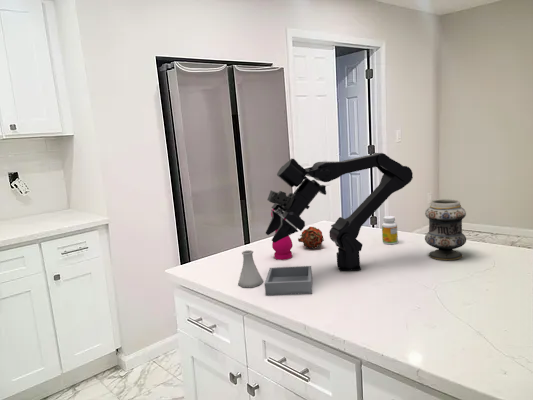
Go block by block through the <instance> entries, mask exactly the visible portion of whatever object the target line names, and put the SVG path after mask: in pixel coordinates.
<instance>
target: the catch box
mask: <svg viewBox="0 0 533 400" xmlns="http://www.w3.org/2000/svg"><path fill="white" fill-rule="evenodd" d="M312 270H313V269H312V265H302V266H301V265H300V266H298V265H297V266H282V267H281V266H279V267H269V269H268V272H267V275H266V278H265V281H264V289H265V296H283V295H284V296H286V295H290V296H291V295H312V294H313V271H312Z"/></svg>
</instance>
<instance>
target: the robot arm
mask: <svg viewBox="0 0 533 400" xmlns="http://www.w3.org/2000/svg"><path fill="white" fill-rule="evenodd" d="M374 168H376V169H378V172H380V173H382V176H381V179H380V182H379V185H377V187H376V188H375V189H374V190H373V191H372V192H371V193H370V194H369V195H368V196H367V197H366V198H365V199H364V200H363V202H362V203H360V205H359V206H358V207H357V208H356V209H355V210H354V211H353V212H352V213H351V214H350V215H349V216H348V217H345V218H343V217H341V216H339V217H338V218H337V220H336V221H335V223H333V224H331V226H330V227H331V228H330V229H329V232H328V233H329V238H330V241H332V242H333V243H334V244H335V246H336V247H337V252H336V265H337V268H338V270H339V271H340V272H345V271H346V272H347V271H349V272H350V271H361V270H362V267H361V263H360V262H361V261H360V260H361V259H360V252H361V251H362V249H363V243H362V242H360V241H359V240H357V238H358V237H359V234H360V230H361V228H362V226H363V225H364V224H365V223H366V222H367V221H368V220H369V219H370V218H371V217H372V215H374V213H375V212H376V211H377V210H378V209H379V208H380V207H381V206H382V205H383V204H384V202H386V201H387V200H388V199H389V198H390V196H392V194H394V193H396V192H398V191H399V190H402V189H403V188H405V187H406V186H407V185H408V184H410V183H411V181H412V180H413V177H414V175H413V170H412V168H410V167H409V166H407V165H402V164H401V163H400V162H398V161H396V160H395V159H392V158H391V157H390V156H388V155H387V154H385V153H383V152H374V153H373V154H369V155H363V156H359V157H355V158H350V159H345V160H341V161H317V162H315V163H313V165H312V166H310V167H307V168H304V167H303V166H302V165H300V164H299V162H298V161H297V160H296V159H295V158H290V159H289V160H288V161H287V162H286V163H284V164H283V165H282V166H281V167H280V168H279V170H278V171H277V173H276V175H277V177H278V178H280V179H281V181H283V182H284V183H286V184H287V185H288V186H289V187H290V188H294V187H296V189H295V191H294V192H293V193H292V192H290V193H289V194H288V195H287V192H286V191H281V190H279V191H274V190H270V191H269V194H268V197H267V201H268V202H270V203H272V204H273V205H272V206H271V211H272V217H271V219H270V222H269V224H268V226H267V229H266V231H265V235H267V236H269V235H271V234H273V233H274V232H275V231H276V230H277V229H278V230H277V232H276V233H274V235H273V237H272V238H271V241H272V243H273V242H274V243H275V242H277V241H279V240H281V239H283V238H285V237H287V236H289V237H290V236H291V235H293V234H295V233H298V232H299V231H300V232H302V231H303V229H304V228H305V227H306V221H305V220H304V219H302V217H301V215H302V214H303V213H304V212H305V210H309V208H310V204H311V202H312V201H313V200H314V198H315V197H316V196H317V195H318V194H322V195H325V196H326V195H327V190H326V187H327V186H326V185H325V184H321V183H322V182H323V183H328V182H331V181H334V180H336V179H339V178H340V177H342V176H343V175H346V174H350V173H355V172H359V171H364V170H367V169H368V170H369V169H374ZM308 177H309V178H313V179H312V180H311V179H309V178H308ZM319 182H321V183H319ZM273 209H274V211H273ZM284 218H285V219H286V220H284Z"/></svg>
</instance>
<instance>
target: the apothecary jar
mask: <svg viewBox="0 0 533 400" xmlns="http://www.w3.org/2000/svg"><path fill="white" fill-rule="evenodd" d="M424 215H425V217H426V218H427V219H428V223H429V224H428V225H429V226H428V232H427V233H426V234H425V236H424V241H425V243H426V244H427V245H429V246H430V247H432V248H435V250H432V251H430V252H429V253H428V256H429V257H430V258H431V259H435V260H438V261H456V260H461V259H462V258H463V257H464V256H463V253H461V252H459V251H458V250H455V249H459V248H461V247H463V246H464V245H465V244H466V243H467V237H466V235H465V234H464V233H463V219H464V218H465V217H466V216H467V211H466V210H465V209H464V208H463V207H462V205H461V201H460V200H458V199H452V198H437V199H432V200H431V201H430V205H429V207H427V208H426V209H425V211H424Z"/></svg>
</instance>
